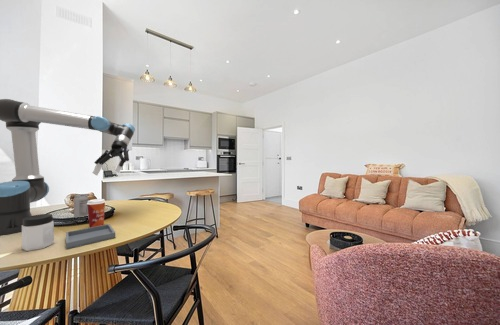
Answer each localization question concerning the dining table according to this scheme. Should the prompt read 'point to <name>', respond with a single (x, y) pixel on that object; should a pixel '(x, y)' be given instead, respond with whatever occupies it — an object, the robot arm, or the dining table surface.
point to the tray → (89, 236)
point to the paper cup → (96, 212)
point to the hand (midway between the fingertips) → (105, 172)
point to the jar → (37, 232)
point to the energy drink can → (80, 205)
